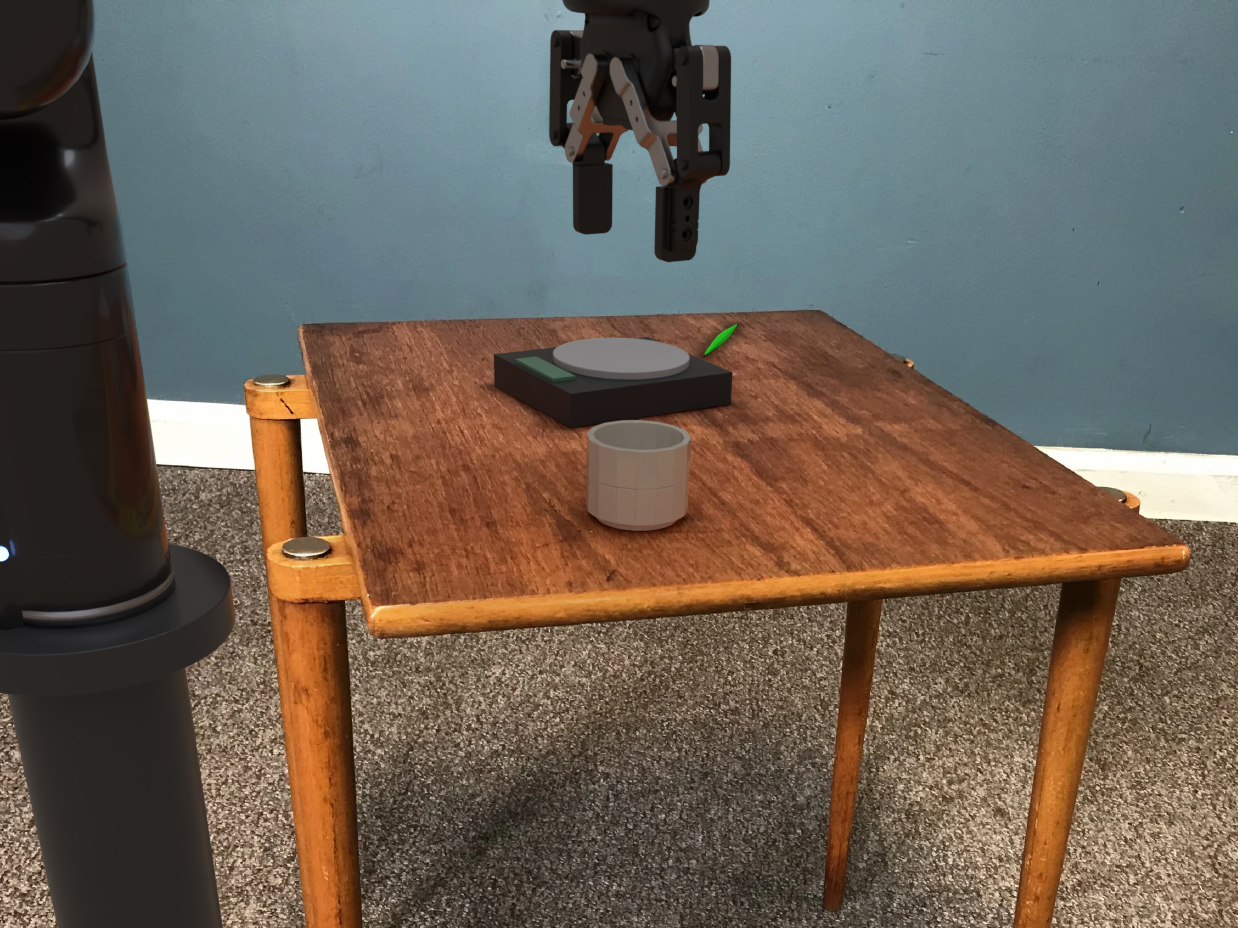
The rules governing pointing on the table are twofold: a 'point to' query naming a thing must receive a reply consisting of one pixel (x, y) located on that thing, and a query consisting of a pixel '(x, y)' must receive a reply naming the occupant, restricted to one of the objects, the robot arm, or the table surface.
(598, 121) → the robot arm
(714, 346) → the leaf
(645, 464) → the white cup
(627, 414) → the scale
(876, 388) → the table surface
